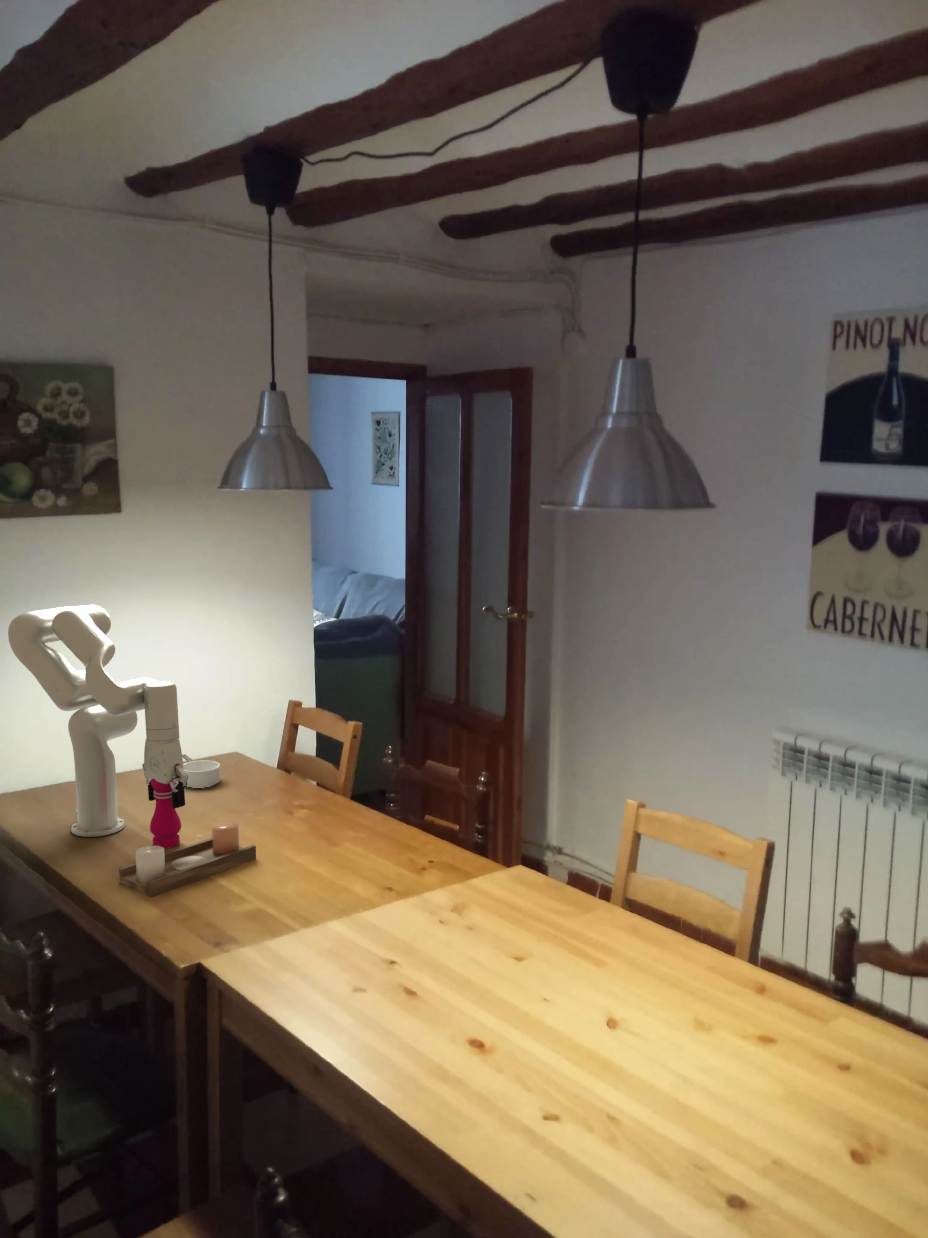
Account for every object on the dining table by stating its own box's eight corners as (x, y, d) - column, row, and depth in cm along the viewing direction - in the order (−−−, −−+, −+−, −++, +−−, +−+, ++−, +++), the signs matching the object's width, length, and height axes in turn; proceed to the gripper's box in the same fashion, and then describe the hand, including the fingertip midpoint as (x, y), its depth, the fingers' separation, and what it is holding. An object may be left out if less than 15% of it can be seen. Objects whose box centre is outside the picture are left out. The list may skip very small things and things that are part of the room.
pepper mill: (162, 852, 237) (159, 770, 234) (144, 845, 241) (141, 764, 238) (188, 843, 242) (185, 763, 239) (169, 836, 247) (166, 758, 244)
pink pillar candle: (207, 851, 233) (206, 827, 232) (228, 844, 237) (227, 820, 236) (223, 858, 229) (222, 833, 228) (244, 850, 234) (243, 826, 233)
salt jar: (131, 877, 217) (129, 851, 217) (155, 869, 222) (154, 843, 221) (146, 885, 214) (145, 858, 213) (170, 876, 218) (169, 850, 217)
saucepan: (202, 769, 303) (202, 751, 302) (226, 786, 287) (226, 767, 286) (165, 775, 297) (164, 757, 296) (187, 793, 280) (187, 774, 280)
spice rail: (119, 882, 219) (118, 868, 218) (224, 846, 240) (223, 834, 240) (151, 897, 211) (150, 883, 211) (256, 859, 233) (255, 846, 232)
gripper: (128, 731, 240) (132, 800, 242) (170, 742, 229) (174, 814, 232) (155, 725, 246) (159, 793, 248) (197, 735, 235) (201, 806, 237)
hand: (166, 803), depth 240 cm, fingers open, 9 cm apart
